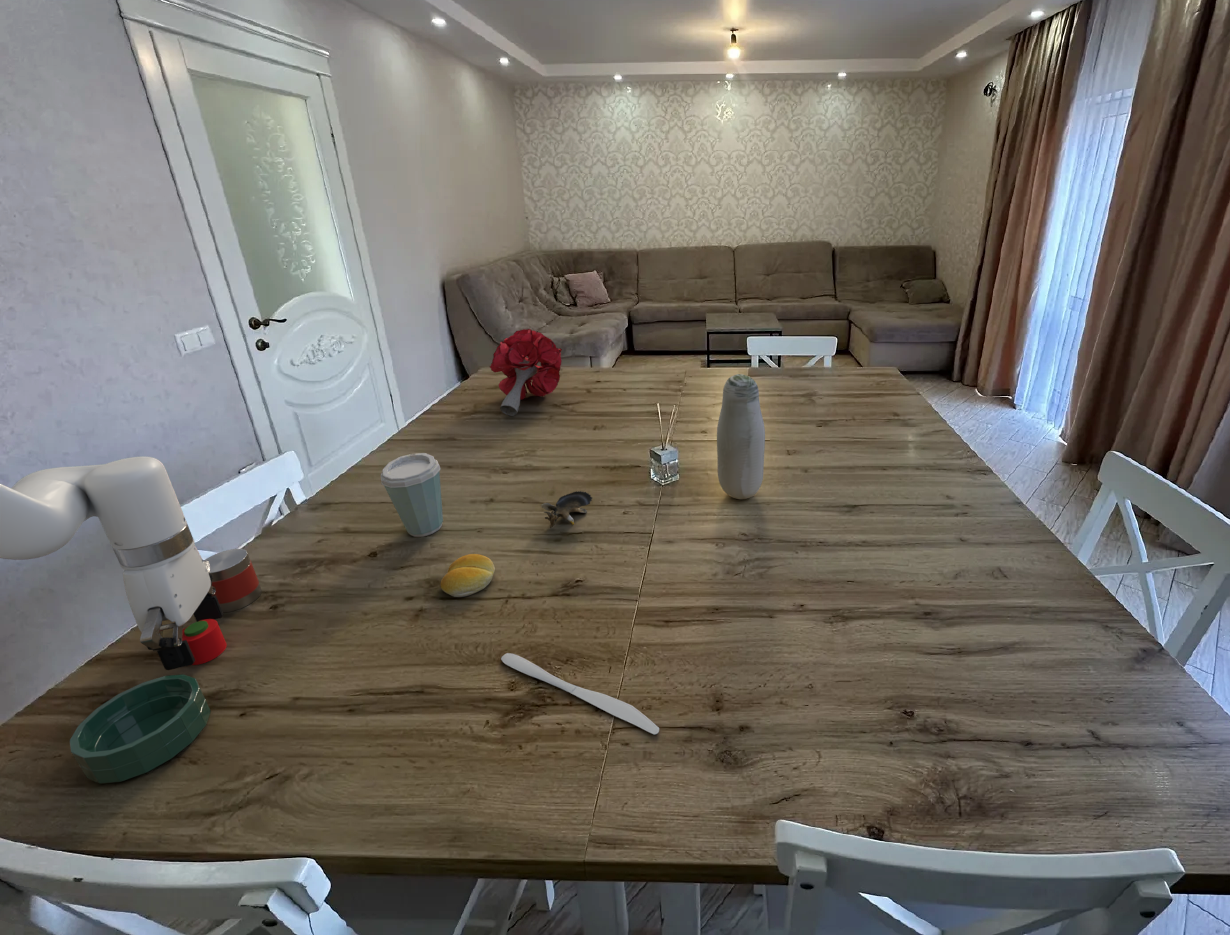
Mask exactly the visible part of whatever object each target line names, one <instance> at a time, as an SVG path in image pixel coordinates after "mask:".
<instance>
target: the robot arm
mask: <svg viewBox="0 0 1230 935" xmlns="http://www.w3.org/2000/svg"><path fill="white" fill-rule="evenodd" d="M93 517H96V518H97V519H98V520H99V522H100V525H101V527H102V529H103V531H104V533H105V535H106V538H107V540H108V542H109V544H110V546H111V548H112V550H113V552H114V555H115V557H116V559H117V561H118V564H119V566H120V567H121V569H122V570H123V571H122V579H123V585H124V591H125V594H126V597H127V598H126V599H127V602H128V604H129V607H130V611H131V612H132V615H133V618H134V620H135V623H136V625H137V628H138V630H139V631H140V633H141V635H140V637H139V642H140V643H141V644H142V645H144V646H145V647H146V648H147V650H149V651H152V652H153V653H154V652H156V653H157V656H158V657H159V659H160V661H161V664H162V666H163V668H164V670H165V671H171V670H175V669H180V668H181V669H182V668H185V667H188V666H189V667H190V666H193V665H192V664H193V663H194V662H195V658H194V656H193V654H192V651H191V649H190V647H189V645H188V642H187V640H183V641H182V634H183V629H184V625H185V624H186V623H187V622H188V621H190V619H191V618H192V616H193V617H194V619H195V622H198V621H201V620H205V619H214V620H219V619H221V618H222V617H223V616H224V612H222V609H221V607H220V604H219V602H218V599H217V597H216V595H214V594H215V593H216V589H215V587H213V586H212V579H213V578H212V575H211V574H209V573H210V564H209V561H204V559H203V558H202V555H201V553H200V551H199V550H198V548H197V546H196V543H195V542H196V541H195V539H194V537H193V534H192V532H191V529H190V527H189V524H188V522H187V520H186V516H185V514H184V511H183V509H182V506H181V504H180V502H179V499H178V496H177V494H176V491H175V489H174V486H173V484H172V481H171V479H170V477H169V474H168V471H167V469H166V467H165V465H164V464H163V462H161V461H160V460H159V459H158V458H156V457H153V456H132V457H125V458H121V459H118V460H117V459H116V460H113V461H109V462H107V463H103V464H102V463H101V464H92V465H78V466H75V465H74V466H60V467H51V468H45V469H41V470H40V469H39V470H36V471H33V472H31V473H28V474H26V475H25V476H23V477H22V478H20V479H19V480H18V481H16V482H15V484H14V485H13V486H11V487H8V486H6V485H4V484H2V483H0V559H3V560H12V561H25V560H27V561H28V560H34V559H39V558H43V557H46V556H48V555H50V554H53V553H55V552H57V551H59V550H60V549H62V548H63V547H65V546H67V544H68V543H69V542H70V541H71V540H72V539H73V538H74V536H75V535H76V534H77V532H78V531H79V529H80V527H81V526H83V523H84V522H86V521H87V520H89V519H91V518H93ZM212 595H214V596H212ZM165 621H170V622H171V623H166V624H163V622H165ZM167 630H172V637H168V636H165V637H164V636H163V635H164V631H167Z"/></svg>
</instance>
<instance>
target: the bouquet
mask: <svg viewBox="0 0 1230 935" xmlns="http://www.w3.org/2000/svg"><path fill="white" fill-rule="evenodd" d="M562 351H563V349H562V348H560V347H559V348H558V347H557V345H556V344H555V342H554V341H553V340H552V339H551V338H549V337H547V336H546V335H544V333H542V332H538V331H537V330H533V329H531V328H527V329H526V328H523V329H519V330H518V329H517V330H516V331H515V332H513V334H511V335H510V336H508V337H505V339H504V338H503V340H502V341H500V342H499V344H498V346H497V347H496V349H495V351H494V352H493V353H492V356H493V357H492V361H491V364H490V365H489V368H490V371H491V372H493V373H502V374H503V375H504V376H505V378H503V379H501V380H500V381H499V383H498V388H499V390H500V391H501V392H502V393H503V394H504V395H505V397H504V399H503V400H502V402H501V404H500V408H499V409H500V411H501V412H502V414H505V415H507V416H516V415H517V414H518V411H519V410H520V405H521V400H524V399H526V397H527V396H526V395H527V394H528V392H529V394H531V395H532V396H535V397H545V396H546V395H549V394H552V393H553V392H554V391H555V389H556V388H557V387H558V385H559V383H560V379H561V375H560V372H561V366H562ZM538 364H540V365H538Z"/></svg>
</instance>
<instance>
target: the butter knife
mask: <svg viewBox="0 0 1230 935" xmlns="http://www.w3.org/2000/svg"><path fill="white" fill-rule="evenodd" d="M500 659H501V661H502V663H504V664H505V665H506V666H508V667H510V668H512V669H513V670H516V671H518V672H521V673H523V674H525V675H527V676H530V677H532V678H535V679H537V680H539V681H543V682H545V683H548V684H550V685H552V686H554V687H557V688H559V689H561V690H563V691H565V692H567V693H570V695H571V694H572V695H573V696H576V697H577V698H579V699H581V700H583V701H585V702H587V703H589V704H591V705H593V706H595V707H597V708H599V709H600V710H603V711H605V712H606V713H608V714H610V715H612V716H614V717H616V718H618V719H621V720H623V721H624V722H628V723H630V724H632V725H633V726H636V727H638V728H640V729H642V730H644V731H646V732H648V733H650V734H652V735H657V734H659V732H660V727H659V726H658V725H656V723H654V722H653V720H651V719H650V718H648V717H647V715H645V714H644V713H642V712H641V711H640V710H639V709H637V707H635V706H633V705H632V704H630V703H628V702H625V701H623V700H620V699H618V698H615V697H614V696H613V697H612V696H610V695H607V694H606V693H602V692H598V691H595V690H591V689H587V688H583V687H580V686H579V685H575V684H572V683H570V682H567V681H566V680H563V679H561V678H559V677H557V676H555V675H553V674H551V673H549V672H548V671H546V670H545V669H543V668H542V667H541V666H539V665H537V664H535V663H533V662H531V661H530V660H528V659H526V658H524V657H522V656H521V655H518V654H516V653H510V652H507V653H505V654H503V655H502V656H501V658H500Z"/></svg>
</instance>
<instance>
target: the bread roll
mask: <svg viewBox="0 0 1230 935" xmlns="http://www.w3.org/2000/svg"><path fill="white" fill-rule="evenodd" d="M495 571H496V568H495V565H494V562H493V561H492V559H490V558H489V557H487V556H485V555H483V554H480V553H470V554H469V553H468V554H465V555H462V556H461V557H458V558H457V559H456V560H454V561H453V562H452V563H451V564H450V565H449V567H448V569H447V572H446V573H445V575H444V576H443V577H442V579H441V581H440V589H441V591H443V593H446V594H447V595H449V596H451V597H453V598H464V597H468V596H472V595H474V594H476V593H479V592H481V591H482V590H484V589H485V588H486V587H487V586H488V585H489V584H490V583H491V581H492V579H493V577H494V574H495Z"/></svg>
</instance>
